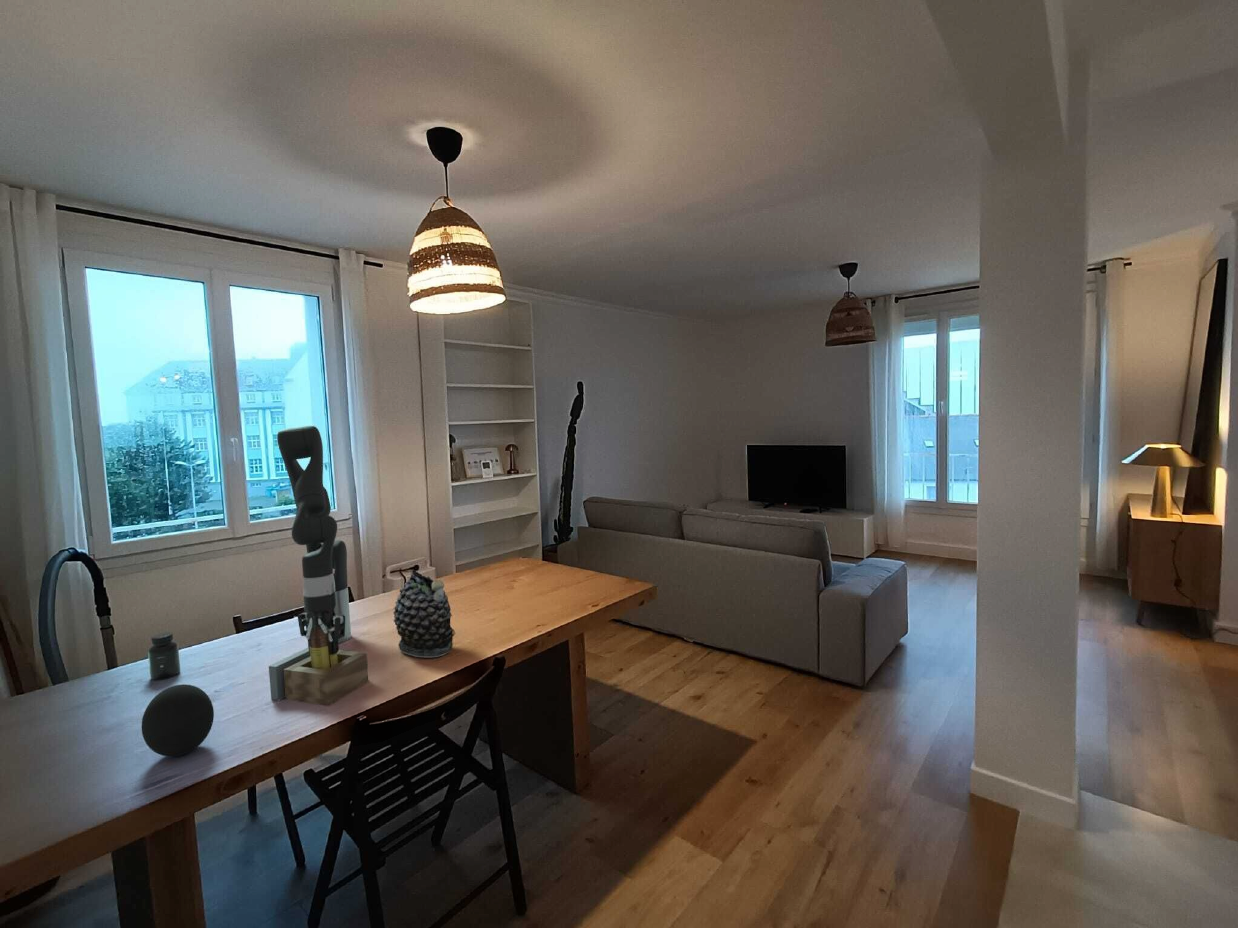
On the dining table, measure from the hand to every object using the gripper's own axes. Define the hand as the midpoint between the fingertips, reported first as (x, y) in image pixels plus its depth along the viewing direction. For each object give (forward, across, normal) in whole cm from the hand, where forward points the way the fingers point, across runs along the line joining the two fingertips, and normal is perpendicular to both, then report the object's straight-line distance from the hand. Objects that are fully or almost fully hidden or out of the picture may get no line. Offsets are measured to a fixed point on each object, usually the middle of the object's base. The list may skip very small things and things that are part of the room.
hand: (323, 652), depth 151 cm
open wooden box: (+10, +1, 0) cm, 10 cm away
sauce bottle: (+8, 0, 0) cm, 8 cm away
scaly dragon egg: (+11, +10, +29) cm, 32 cm away
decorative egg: (+11, -8, -32) cm, 35 cm away
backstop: (+10, -9, 0) cm, 14 cm away
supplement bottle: (+11, -55, -4) cm, 56 cm away
